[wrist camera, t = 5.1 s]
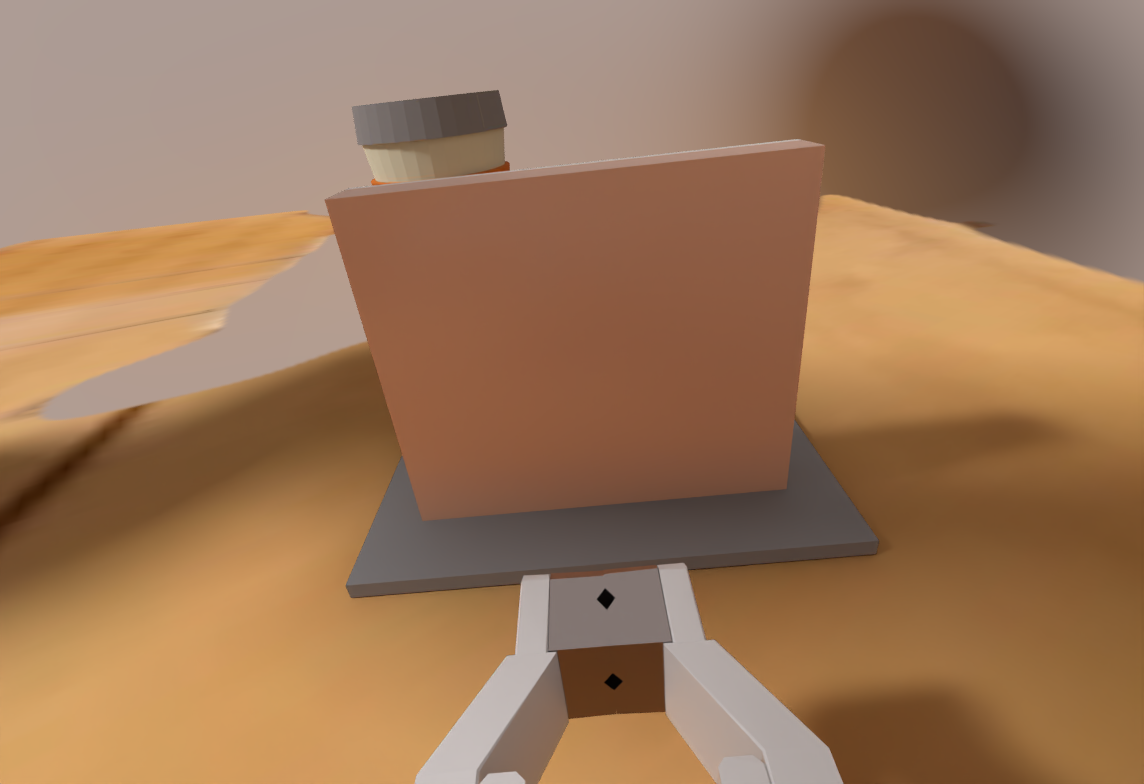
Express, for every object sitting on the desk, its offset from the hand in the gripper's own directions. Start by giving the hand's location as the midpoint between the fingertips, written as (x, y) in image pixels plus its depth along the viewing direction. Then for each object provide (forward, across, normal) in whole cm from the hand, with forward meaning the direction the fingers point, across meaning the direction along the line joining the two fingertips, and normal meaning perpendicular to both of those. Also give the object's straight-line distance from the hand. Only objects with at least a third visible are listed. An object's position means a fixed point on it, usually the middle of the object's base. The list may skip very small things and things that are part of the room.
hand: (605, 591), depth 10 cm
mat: (+16, 0, +6) cm, 17 cm away
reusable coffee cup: (+45, +11, +7) cm, 47 cm away
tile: (+10, 0, +6) cm, 12 cm away
